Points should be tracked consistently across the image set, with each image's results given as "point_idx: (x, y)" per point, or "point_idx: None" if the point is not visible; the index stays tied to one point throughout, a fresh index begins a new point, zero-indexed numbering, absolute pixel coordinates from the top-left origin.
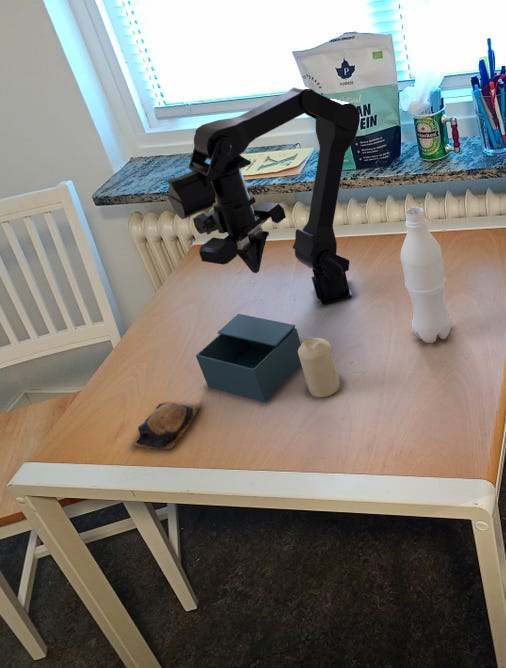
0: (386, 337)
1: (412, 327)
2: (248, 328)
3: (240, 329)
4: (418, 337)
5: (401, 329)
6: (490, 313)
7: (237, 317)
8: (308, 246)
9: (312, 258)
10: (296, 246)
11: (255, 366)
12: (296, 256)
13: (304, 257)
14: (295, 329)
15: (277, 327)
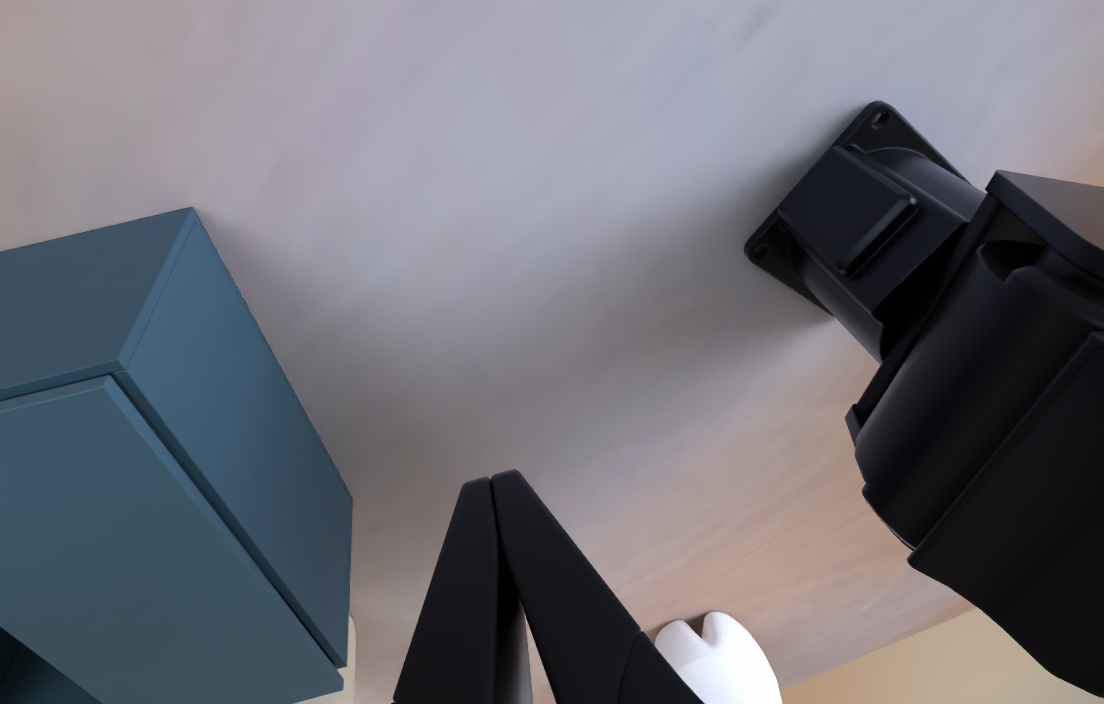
0: (627, 574)
1: (670, 659)
2: (87, 578)
3: (21, 555)
4: (655, 642)
5: (684, 574)
6: (822, 649)
7: (68, 427)
8: (1028, 569)
9: (910, 542)
10: (1091, 401)
11: (123, 388)
12: (1008, 297)
13: (950, 440)
14: (338, 668)
15: (256, 662)
